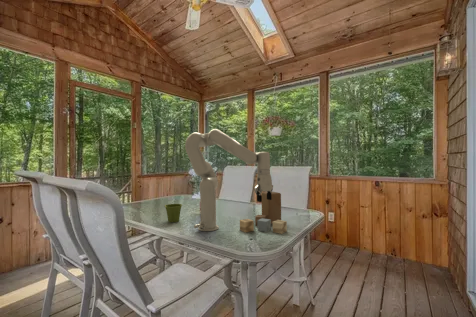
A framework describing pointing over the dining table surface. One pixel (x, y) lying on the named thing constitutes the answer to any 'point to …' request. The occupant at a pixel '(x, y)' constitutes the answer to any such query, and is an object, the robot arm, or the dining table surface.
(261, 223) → the cube slate
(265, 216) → the cube walnut
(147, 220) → the dining table surface
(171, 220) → the plant pot
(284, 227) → the cube maple
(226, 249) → the dining table surface
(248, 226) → the cube oak
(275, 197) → the block
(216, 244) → the dining table surface
